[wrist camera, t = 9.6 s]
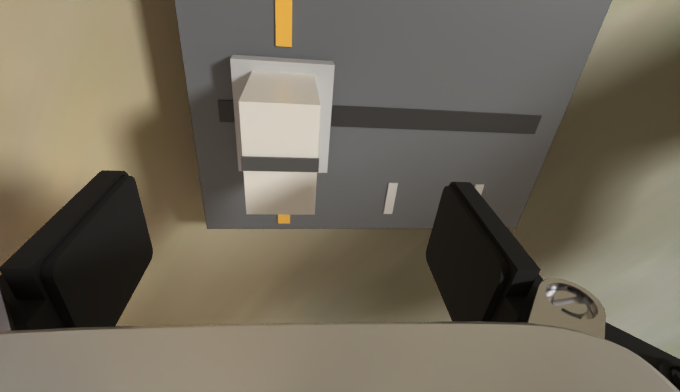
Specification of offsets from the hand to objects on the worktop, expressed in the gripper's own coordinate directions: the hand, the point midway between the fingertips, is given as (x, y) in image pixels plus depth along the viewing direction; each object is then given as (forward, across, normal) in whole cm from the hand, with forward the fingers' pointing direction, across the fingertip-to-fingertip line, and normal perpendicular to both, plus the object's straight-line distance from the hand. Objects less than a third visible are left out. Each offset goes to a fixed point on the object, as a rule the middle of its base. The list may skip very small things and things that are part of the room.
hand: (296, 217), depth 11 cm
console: (+13, -5, 0) cm, 14 cm away
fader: (+10, +1, 0) cm, 10 cm away
